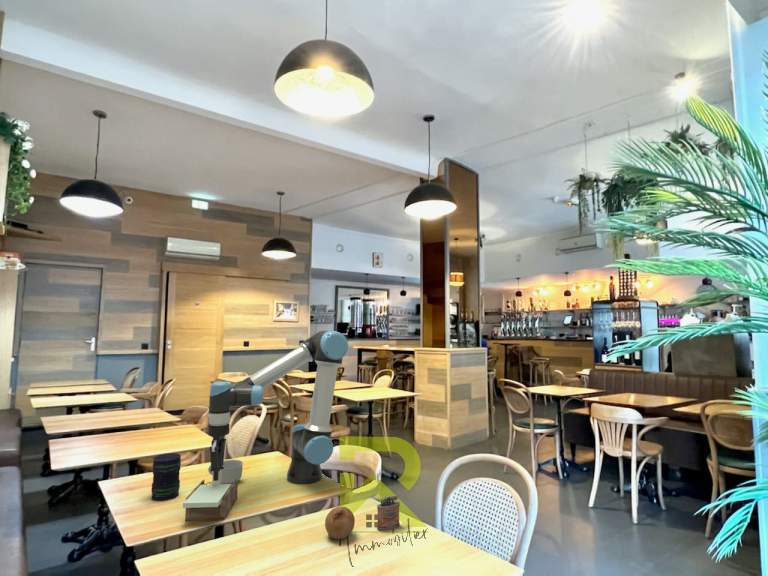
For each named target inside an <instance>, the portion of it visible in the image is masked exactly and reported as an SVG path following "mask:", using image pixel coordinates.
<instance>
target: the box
mask: <svg viewBox="0 0 768 576" xmlns="http://www.w3.org/2000/svg"><path fill="white" fill-rule="evenodd" d="M200 485H208V483H205V479H202V480H201V481H200V482H199V483H198V484H197V486H196V487H195V488H193V490H192V491H191V492H190V493H189V494H188V496H186V497H185V501H186V500H187V499H188V498H189V497H190V496H191V495H192V493H193V492H194V491H195V490H196V489H197V488H198V487H199V486H200ZM238 487H239V480H238V479H236V480H235V482H234V483H233V484H232V486H231V487H230V489H229V490H228V492H227V493H226V494H225V496H224V499H223V501H222V502H221V503H220V505H219V506H218V507H200V508H185V514H184V515H185V518H184V521H185V522H197V521H198V522H200V521H202V522H203V521H224V520H226V518H227V516H228V515H229V514H230V511H232V508H233V507H234V505H235V504H236V502H237V501H238V493H239V492H238V491H239V490H238Z"/></svg>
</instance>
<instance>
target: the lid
mask: <svg viewBox="0 0 768 576" xmlns="http://www.w3.org/2000/svg"><path fill="white" fill-rule="evenodd" d="M232 485H233V484H216V485H212V484H207V485H200V486H199V487H198V488H197V489H196V490H195V491H194V492H193V493H192V495H191V496H190V497H189V498H188V499H187V500H186V499H185V501H184V502H183V504H182V508H183V509H186V508H200V507H218V506H219V505H220V503H221V502H222V501H223V499H224V496H225V494H226V493H227V492H228V490H229V489H230V487H231V486H232Z"/></svg>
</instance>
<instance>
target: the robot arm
mask: <svg viewBox="0 0 768 576" xmlns="http://www.w3.org/2000/svg"><path fill="white" fill-rule="evenodd" d="M348 351H349V342H348V339H347V338H346V336H345V335H344V334H343V333H341V332H339V331H336V330H322V331H318V332H316V333H314V334H313V335H311V336H310V337H308V338H306V340H304V341H302V342H301V343H300V344H299V346H298V347H297V348H295V349H293V350H291V351H290V352H288V353H287V354H285V355H283V356H281V357H280V358H278V359H276V360H275V361H273V362H271V363H269V364H268V365H266V366H265V367H263V368H261V369H260V370H258V371H256V372H255V373H253V374H251V375H250V376H248V377H246V378H244V379H243V380H239V381H237V382H235V383H234V384H233V385H232V383H231V382H230V381H215V382H212V383H211V384H210V387H209V400H208V401H209V402H208V404H209V406H208V407H209V408H208V414H207V418H208V424H209V425H208V427H207V428H208V429H207V435H208V436H210V437H212V439H211V444H210V445H211V446H209V452H210V465H211V470H210V472H213V476H212V484H211V485H216V484H221V470H220V469H224V467H222V466H223V462H224V461H225V450H226V449H225V448H226V443H227V438H225V436H227V435H229V434H230V422H231V408H233V407H234V408H235V407H250V406H252V407H254V406H259V405H261V404H262V403H263V399H264V389H265V388H267V387H268V386H270V385H271V384H273V383H275V382H277V381H279V379H282V378H283V377H285V376H286V375H288V374H290V373H292V372H293V371H294V370H296V369H298V368H299V367H301V366H302V365H304V364H306V363H308V362H313V361H314V362H315V364H316V365H317V367H316V374H315V380H314V386H313V391H312V397H311V405H310V412H309V417H308V423H300V424H295V425H293V426H292V430H291V460H290V463H289V467H288V471H287V473H286V480H287V482H289V483H293V484H299V485H302V484H304V485H305V484H312V483H316V482H319V481H320V480H321V479H322V477H323V471H322V468H321V465H322V464H324V463H326V462H327V461H328V460H329V459H330V458H331V457H332V455H333V451H334V444H333V442H332V432H333V429H332V428H331V426H330V423H331V414H332V409H333V408H332V407H333V401H334V394H335V387H336V381H337V376H338V375H337V373H338V368H339V367H340V366H342V364H343V357H345V356H346V355H347V353H348Z"/></svg>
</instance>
